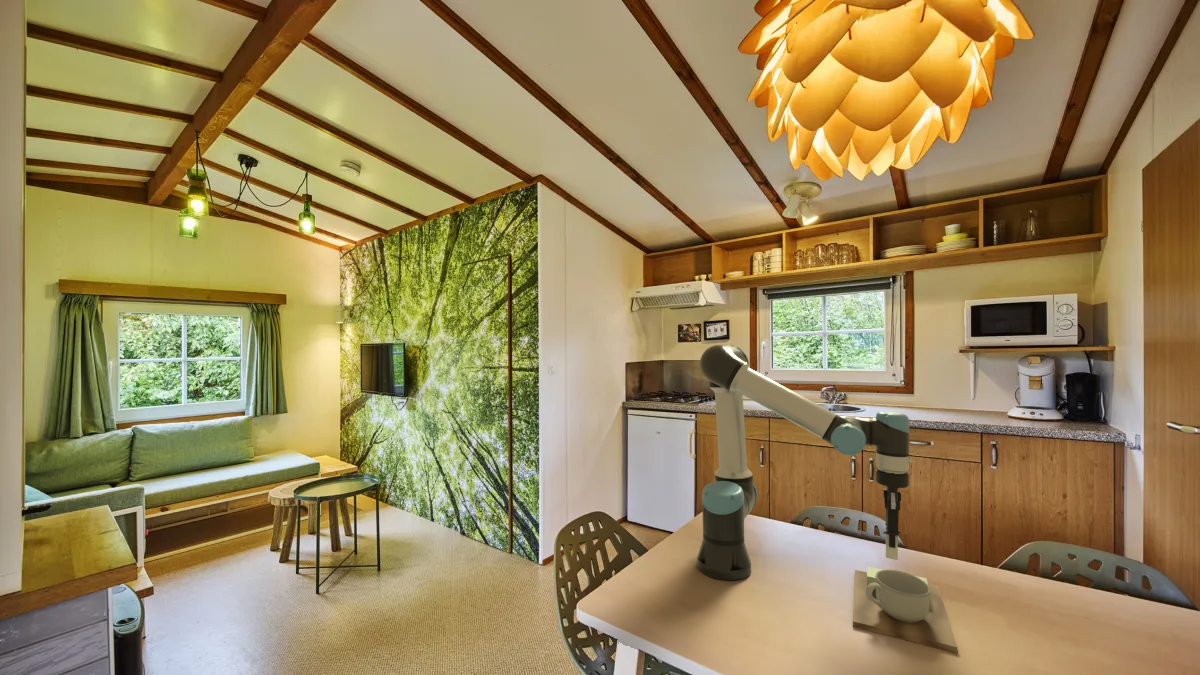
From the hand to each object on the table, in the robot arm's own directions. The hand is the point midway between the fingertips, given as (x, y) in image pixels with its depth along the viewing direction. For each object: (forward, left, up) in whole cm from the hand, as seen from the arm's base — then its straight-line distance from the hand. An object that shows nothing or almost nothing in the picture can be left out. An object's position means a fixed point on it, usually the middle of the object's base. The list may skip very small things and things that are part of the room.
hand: (891, 557), depth 124 cm
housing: (+1, -7, -6) cm, 9 cm away
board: (+1, -13, -7) cm, 15 cm away
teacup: (0, -19, -6) cm, 20 cm away
